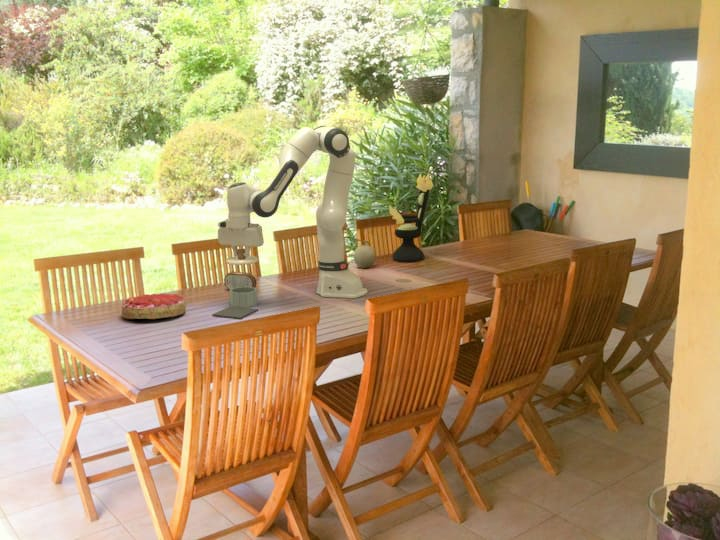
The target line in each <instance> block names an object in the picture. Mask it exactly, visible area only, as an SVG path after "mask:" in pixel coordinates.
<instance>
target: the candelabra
mask: <svg viewBox="0 0 720 540" xmlns="http://www.w3.org/2000/svg"><path fill="white" fill-rule="evenodd" d="M416 184H417V185H416V186H415V188H416V189H417V190H419V195H418V198H417V203H418V204H417V211H416V215H414V214H400V212H398V210H397V208H395V207H392V205H390V204H388V206H389V207H388V208H389V209H388V210H389V214H390V215H392V217H391V219H392V220H395V221H396V223H395V224H396V225H400V226H399V227H397V228H396V229H395V230H394V235H395V236H396V238H398V239H402V243H401V245H400V246H398V247H397V248H396V249H395V250H394V252H393V253H392V256H391V258H392V259H393V260H394V261H396V262H402V263H412V262H413V263H414V262H420V261H422V260H424V259H425V255H424V252H423V251H422V250H421V248H419V247H418V246H417V245H416V244H415V241H414V240H415V239H418V238H420V237H421V236H422V234H423V233H422V230H423V229H422V227H423V222H424V219H425V218H424V217H425V215H426V214H425V213H426V210H427V206H428V203H429V202H428V201H429V198H430V197H429V196H430V190H433V189H432V188H434V184H433V180H432V177H431V176H430V172H428V173H427V175H425V174H423V175H422V174H421V173H419V174H418V177H417V179H416ZM414 223H415V225H414Z"/></svg>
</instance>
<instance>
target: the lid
mask: <svg viewBox="0 0 720 540" xmlns="http://www.w3.org/2000/svg"><path fill="white" fill-rule="evenodd" d="M237 252H238V256H234V255H233V256H230V257H228V258H227V257H226V259H225V263H226V264H228V265H231V266H245V265H252V264H256V263H258V261H259V258H258V256H257V255H249V256H248V257H244V252H246V248H237Z"/></svg>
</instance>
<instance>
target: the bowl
mask: <svg viewBox="0 0 720 540" xmlns="http://www.w3.org/2000/svg"><path fill="white" fill-rule="evenodd" d="M257 289H258V288H256V287H255V288H254V287H237V288H233V289H231V290H229V303H230V306H234V307H243V308H251V307H254V306H257V305H258V292H257V291H258V290H257ZM256 304H257V305H256ZM250 306H251V307H250Z"/></svg>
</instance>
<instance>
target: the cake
mask: <svg viewBox="0 0 720 540" xmlns="http://www.w3.org/2000/svg"><path fill="white" fill-rule="evenodd" d="M186 309H187V304H186V301H185V299H184V297H183V296H181V295H179V294H176V293H173V294H172V293H169V294H168V293H159V294H157V293H152V294H148V293H147V294H143V295H138V296H134V297H129V298H128V299H126V300H125V301H124V302H123V303H122V304H121V316H122V317H123V318H124V319H126V320H131V321H134V320H135V319H137V320H139V319H140V320H156V319H165V318H168V319H172V318H175V317H177V316H182V315H183V314H185V313H186V311H187V310H186Z"/></svg>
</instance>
